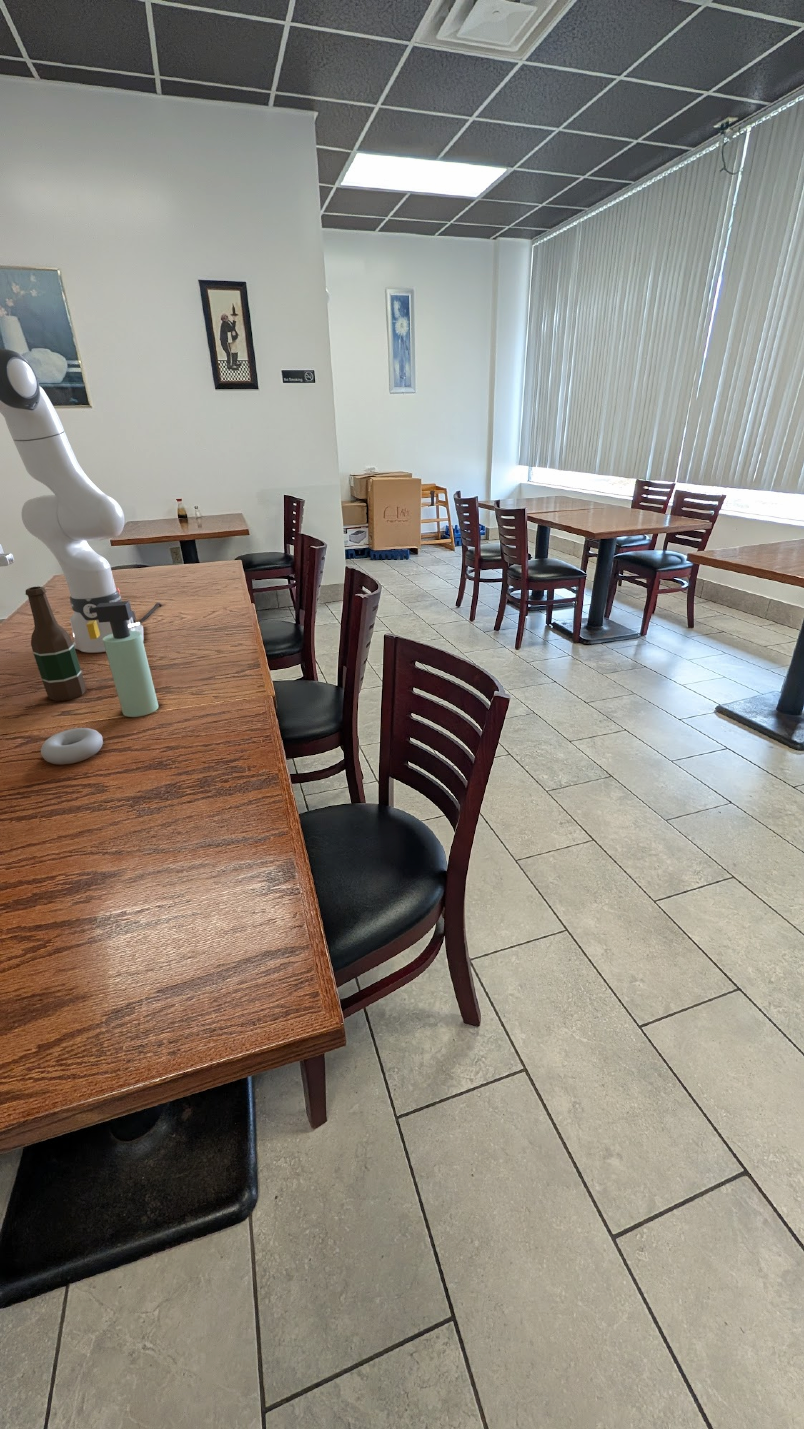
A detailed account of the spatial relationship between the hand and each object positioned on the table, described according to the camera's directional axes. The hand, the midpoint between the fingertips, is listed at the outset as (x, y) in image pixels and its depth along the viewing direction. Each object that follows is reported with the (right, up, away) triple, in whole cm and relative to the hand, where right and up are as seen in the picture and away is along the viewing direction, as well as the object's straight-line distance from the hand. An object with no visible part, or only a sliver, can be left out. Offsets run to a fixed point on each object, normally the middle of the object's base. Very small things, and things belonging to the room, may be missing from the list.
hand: (10, 559), depth 107 cm
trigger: (+12, -13, +7) cm, 19 cm away
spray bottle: (+17, -27, +15) cm, 36 cm away
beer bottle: (-3, -24, +24) cm, 34 cm away
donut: (+13, -36, -1) cm, 38 cm away
